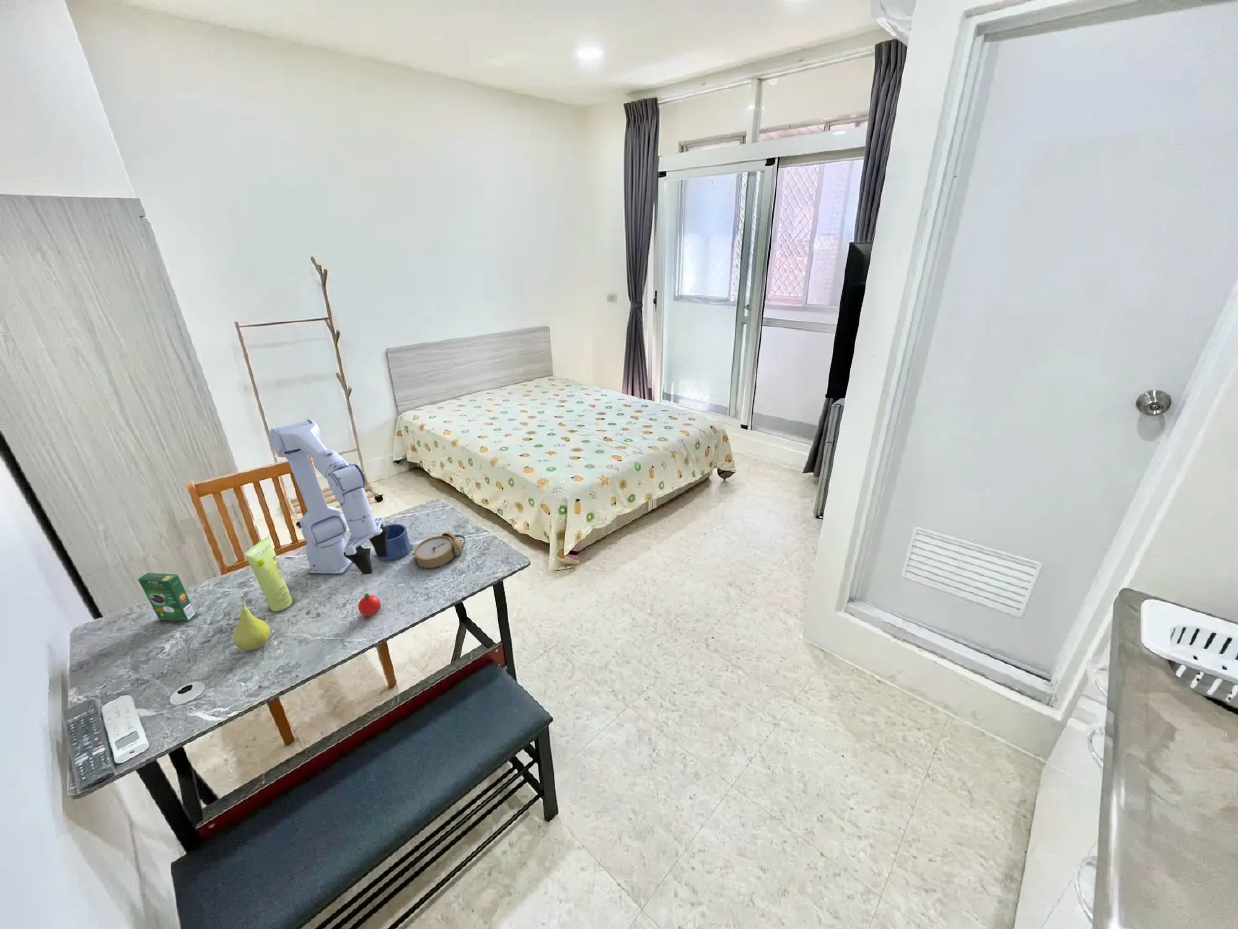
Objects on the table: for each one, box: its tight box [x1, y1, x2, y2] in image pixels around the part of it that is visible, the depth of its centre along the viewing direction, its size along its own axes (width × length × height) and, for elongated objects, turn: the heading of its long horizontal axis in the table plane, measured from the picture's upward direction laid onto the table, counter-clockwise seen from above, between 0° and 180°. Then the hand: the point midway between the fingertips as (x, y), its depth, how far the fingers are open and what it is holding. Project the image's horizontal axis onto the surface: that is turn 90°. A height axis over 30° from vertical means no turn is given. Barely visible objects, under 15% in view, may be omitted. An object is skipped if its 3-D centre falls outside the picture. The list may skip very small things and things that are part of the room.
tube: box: [244, 534, 293, 612], centre depth 121 cm, size 6×5×20 cm
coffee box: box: [137, 572, 197, 623], centre depth 119 cm, size 8×3×13 cm, turn 86°
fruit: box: [232, 595, 271, 651], centre depth 111 cm, size 7×8×12 cm
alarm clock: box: [411, 531, 467, 569], centre depth 144 cm, size 11×5×15 cm
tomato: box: [358, 593, 382, 617], centre depth 122 cm, size 5×5×6 cm
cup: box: [378, 523, 411, 562], centre depth 145 cm, size 9×9×7 cm
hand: (375, 564), depth 119 cm, fingers open, 7 cm apart
